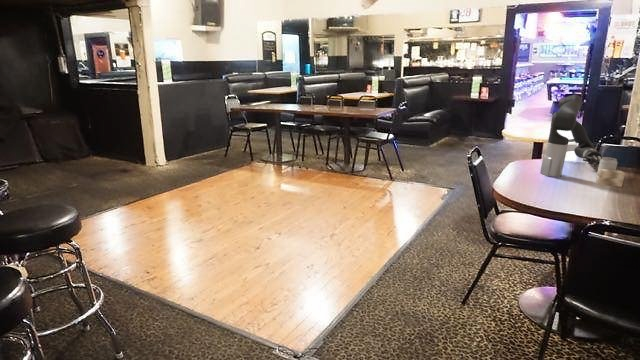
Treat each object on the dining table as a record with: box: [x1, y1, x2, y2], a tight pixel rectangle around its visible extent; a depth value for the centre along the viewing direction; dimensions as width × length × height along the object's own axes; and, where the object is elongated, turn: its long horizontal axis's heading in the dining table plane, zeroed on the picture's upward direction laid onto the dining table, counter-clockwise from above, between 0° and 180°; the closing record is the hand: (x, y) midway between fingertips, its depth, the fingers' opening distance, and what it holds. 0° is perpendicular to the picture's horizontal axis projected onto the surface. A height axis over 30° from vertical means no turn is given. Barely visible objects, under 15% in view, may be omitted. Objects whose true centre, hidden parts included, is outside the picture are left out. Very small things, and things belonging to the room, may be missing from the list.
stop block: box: [595, 169, 626, 187], centre depth 207 cm, size 10×4×7 cm, turn 71°
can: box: [595, 156, 618, 180], centre depth 212 cm, size 8×8×12 cm
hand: (600, 163), depth 224 cm, fingers closed
